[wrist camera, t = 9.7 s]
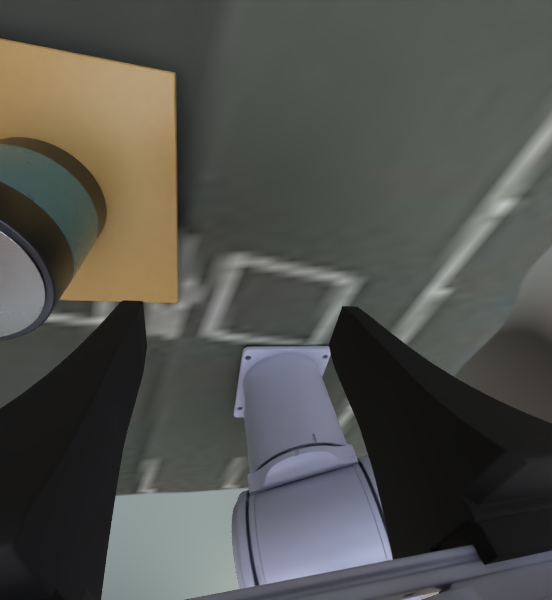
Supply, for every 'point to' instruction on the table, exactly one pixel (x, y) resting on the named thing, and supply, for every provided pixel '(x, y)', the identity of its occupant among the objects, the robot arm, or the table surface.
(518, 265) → the table surface
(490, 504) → the robot arm
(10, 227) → the can
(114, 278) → the platform
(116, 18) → the table surface
